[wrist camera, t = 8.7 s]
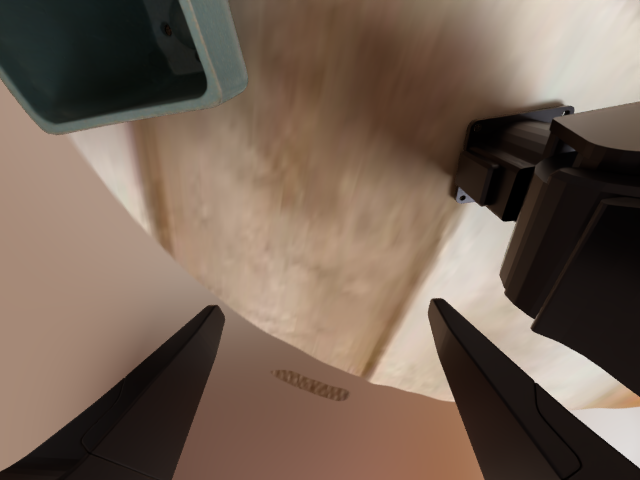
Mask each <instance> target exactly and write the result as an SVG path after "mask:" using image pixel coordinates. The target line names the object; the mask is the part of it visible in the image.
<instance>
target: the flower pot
mask: <svg viewBox="0 0 640 480" xmlns="http://www.w3.org/2000/svg"><path fill="white" fill-rule="evenodd" d="M165 25H168V26H169V27H170V29H171V31H172V34H171V35H170V36H169V35H167V34H166V32H165V29H164V28H165ZM198 56H199V58H198ZM199 59H200V60H199ZM0 78H1V80H2V81H3V83H4V84H5V85H6V87H7V88H8V89H9V91H10V92H11V94H12V95H13V96H14V97H15V99H16V100H17V101H18V103H19V104H20V105H21V106H22V108H23V109H24V110H25V112H26V113H27V114H28V115H29V116H30V117H31V118H32V120H33V121H34V122H35V123H36V124H37V125H38V126H39V127H40V128H41V129H42V130H44V131H45V132H46V133H48V134H54V135H63V134H67V133H72V132H77V131H81V130H87V129H92V128H97V127H102V126H107V125H112V124H117V123H123V122H129V121H133V120H140V119H147V118H152V117H158V116H164V115H170V114H176V113H182V112H187V111H195V110H202V109H208V108H213V107H216V106H218V105H220V104H222V103H224V102H226V101H227V100H229V99H231V98H233V97H235V96H237V95H238V94H240V93H241V92H243V91H244V90H245V88H246V86H247V84H248V75H247V70H246V66H245V62H244V59H243V55H242V51H241V48H240V44H239V40H238V36H237V33H236V29H235V25H234V22H233V18H232V14H231V10H230V6H229V3H228V0H0Z"/></svg>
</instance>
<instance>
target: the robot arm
mask: <svg viewBox="0 0 640 480" xmlns="http://www.w3.org/2000/svg"><path fill="white" fill-rule="evenodd" d="M564 111H565V114H564V115H563V116H561V114H562V113H563V112H564ZM477 124H479V127H478V129H477V130H475V131H474V127H475V126H476V125H477ZM455 184H456V185H457V186H456V192H455V197H454V198H455V200H456V201H457V202H458V203H470V202H476V203H478V204H479V205H480V206H486V207H487V208H488V209H489V210H491V211H492V212H493V213H494V214H495V215H496V216H498V217H499V218H500V219H501V220H502V221H505V222H506V221H514V222H516V224H515V227H514V230H513V233H512V236H511V239H510V241H509V244H508V247H507V250H506V253H505V256H504V259H503V262H502V265H501V270H500V274H499V275H500V278H501V281H502V283H503V286H504V288H505V292H504V293H505V295H506V296H507V297H508V299H509V300H510V301H511V302H512V303H513V304H514V305H515V306H516V307H518V308H519V309H520V310H522V311H523V312H524V313H526V314H527V315H528V316H530V317H531V318H533V319H535V320H534V322H533V324H532V325H531V330H532V331H533V332H535V333H537V334H540V335H543V336H545V337H548V338H550V339H553V340H555V341H558V342H560V343H562V344H564V345H565V346H567V347H569V348H571V349H573V350H574V351H576V352H578V353H580V354H582V355H583V356H585V357H586V358H588V359H589V360H591V361H592V362H594V363H595V364H596V365H598V366H599V367H601V368H602V369H603V370H605V371H606V372H607V373H609V374H610V375H611V376H613V377H614V378H615V379H617V380H618V381H619V382H620V383H622V384H623V385H624V386H626V387H627V388H628V389H630V390H631V391H632V392H634V393H635V394H636V395H638V396H639V397H640V102H635V103H629V104H624V105H619V106H613V107H608V108H602V109H597V110H592V111H586V112H581V113H576V114H574V107H572V106H565V105H564V106H558V107H551V108H545V109H539V110H532V111H526V112H520V113H514V114H507V115H501V116H495V117H489V118H482V119H476V120H474V121H472V122H471V123H470V124H469V126H468V129H467V134H466V140H465V145H464V150H463V151H462V152H461V154H460V158H459V163H458V169H457V174H456V179H455ZM463 195H464V196H463ZM461 196H463V198H461V199H459V198H460V197H461ZM428 318H429V322H430V326H431V330H432V334H433V337H434V341H435V345H436V349H437V353H438V356H439V359H440V362H441V365H442V367H443V370H444V373H445V375H446V378H447V381H448V383H449V386H450V389H451V391H452V394H453V397H454V399H455V402H456V404H457V407H458V410H459V413H460V415H461V418H462V421H463V423H464V426H465V429H466V431H467V434H468V436H469V439H470V442H471V445H472V447H473V450H474V453H475V455H476V458H477V460H478V463H479V466H480V469H481V471H482V474H483V477H484V479H485V480H640V468H639V467H637V466H636V465H635V464H634V463H632V462H631V461H629V459H627V458H626V457H625V456H623V455H622V454H621V453H620V452H618V451H617V450H616V449H615V448H613V447H612V446H611V445H610V444H608V443H607V442H606V441H605V440H603V439H602V438H601V437H600V436H598V435H597V434H596V433H595V432H594V431H592V430H591V429H590V428H589V427H587V426H586V425H585V424H584V423H583V422H581V421H580V420H579V419H577V418H576V417H575V416H574V415H573V414H571V413H570V412H569V411H568V410H567V409H566V408H565V407H563V406H562V405H561V404H560V403H559V402H558V401H557V400H555V399H554V398H553V397H552V396H551V395H550V394H549V393H548V392H546V391H545V390H544V389H543V388H542V387H541V386H540V385H539V384H537V383H535V382H534V380H533V379H532V378H531V377H530V376H528V375H527V374H526V373H525V372H524V371H523V370H522V369H521V368H520V367H519V366H517V365H516V364H515V363H514V362H513V361H512V360H511V359H510V358H509V357H507V356H506V355H505V354H504V353H503V352H502V351H501V350H500V349H499V348H497V347H496V346H495V345H494V344H493V343H492V342H491V341H490V340H489V339H487V338H486V337H485V336H484V335H483V334H482V333H481V332H480V331H479V330H477V329H476V328H475V327H474V326H473V325H472V324H471V323H470V322H469V321H467V320H466V319H465V318H464V317H463V316H462V315H461V314H460V313H459V312H457V311H456V310H455V309H454V308H453V307H452V306H451V305H450V304H449V303H447V302H446V301H445V300H444V299H442V298H433V299H431V301H430V305H429V309H428ZM224 323H225V316H224V314H223V313H222V311H221V309H220V307H219V306H218V305H208V306H207V307H205V308H204V309H203V310H202V311H201V312H200V313H199V314H197V315H196V316H195V317H194V318H193V319H192V320H190V321H189V322H188V323H187V324H186V325H185V326H184V327H182V328H181V329H180V330H179V331H178V332H177V333H175V334H174V335H173V336H172V337H171V338H169V339H168V340H167V341H166V342H165V343H164V344H163V345H161V346H160V347H159V348H158V349H157V350H156V351H154V352H153V353H152V354H151V355H150V356H149V357H147V358H146V359H145V360H144V361H143V362H142V363H141V364H139V365H138V366H137V367H136V368H135V369H134V370H132V372H130V373H129V374H128V375H127V376H126V377H125V378H123V379H122V380H121V381H120V382H118V383H117V384H116V385H115V386H114V387H113V388H111V390H109V391H108V392H107V393H106V394H104V395H103V396H102V397H101V398H100V399H98V400H97V401H96V402H95V403H93V404H92V405H91V406H90V407H88V408H87V409H86V410H85V411H83V412H82V413H81V414H80V415H78V416H77V417H76V418H74V419H73V420H72V421H71V422H69V423H68V424H67V425H66V426H64V427H63V428H62V429H61V430H59V431H58V432H57V433H55V434H54V435H53V436H51V437H50V438H49V439H48V440H46V441H45V442H44V443H42V444H41V445H40V446H39V447H37V448H36V449H35V450H33V451H32V452H31V453H29V454H28V455H27V456H25V457H24V458H22V459H21V460H19V461H18V462H16V463H15V464H13V465H11V466H10V467H8V468H6V469H4V470H2V471H1V472H0V480H172V478H173V475H174V472H175V469H176V466H177V464H178V461H179V458H180V455H181V452H182V450H183V447H184V444H185V441H186V438H187V436H188V433H189V430H190V427H191V424H192V422H193V419H194V416H195V413H196V410H197V407H198V405H199V402H200V399H201V396H202V394H203V391H204V388H205V385H206V383H207V380H208V377H209V374H210V371H211V369H212V366H213V363H214V360H215V357H216V354H217V350H218V346H219V342H220V339H221V334H222V330H223V326H224Z"/></svg>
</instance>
